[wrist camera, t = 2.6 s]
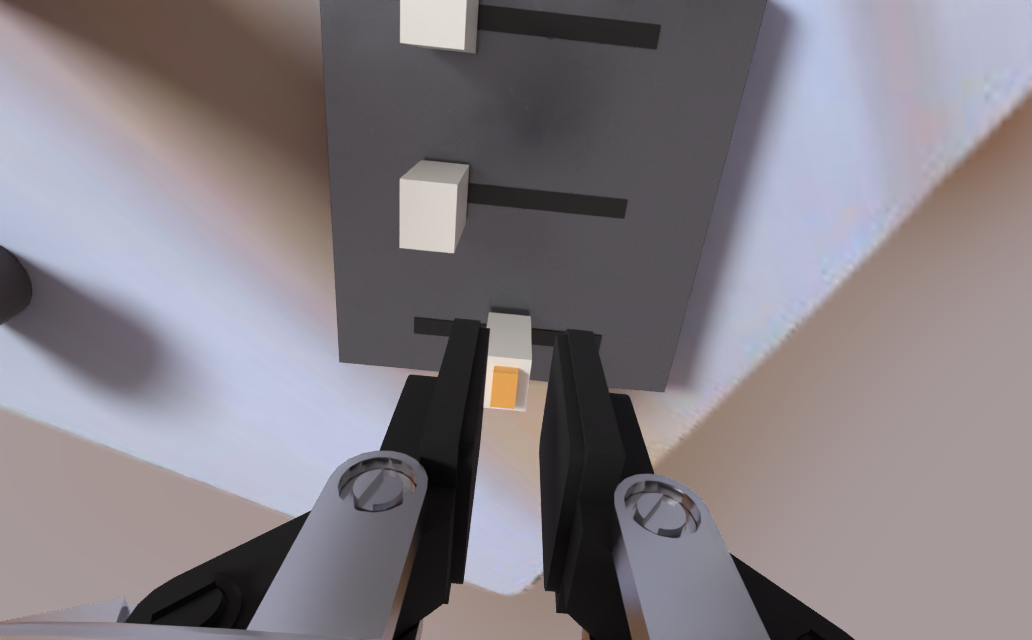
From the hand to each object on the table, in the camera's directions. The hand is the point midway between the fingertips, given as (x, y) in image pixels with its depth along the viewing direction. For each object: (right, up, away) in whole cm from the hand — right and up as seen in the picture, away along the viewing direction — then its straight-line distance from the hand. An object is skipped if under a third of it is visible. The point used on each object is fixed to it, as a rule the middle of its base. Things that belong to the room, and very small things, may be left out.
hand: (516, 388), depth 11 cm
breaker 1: (-3, +15, +12) cm, 20 cm away
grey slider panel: (0, +9, +19) cm, 21 cm away
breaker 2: (-4, +8, +16) cm, 18 cm away
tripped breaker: (-1, 0, +19) cm, 19 cm away
